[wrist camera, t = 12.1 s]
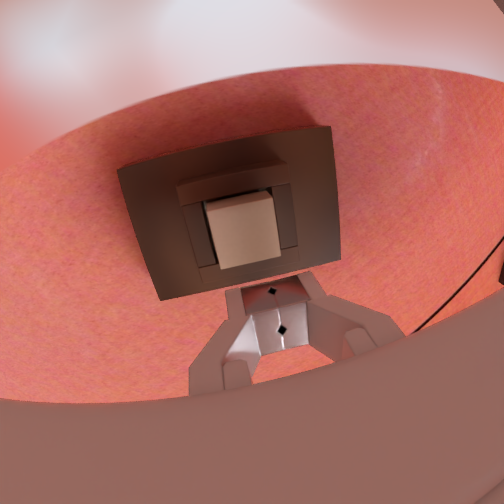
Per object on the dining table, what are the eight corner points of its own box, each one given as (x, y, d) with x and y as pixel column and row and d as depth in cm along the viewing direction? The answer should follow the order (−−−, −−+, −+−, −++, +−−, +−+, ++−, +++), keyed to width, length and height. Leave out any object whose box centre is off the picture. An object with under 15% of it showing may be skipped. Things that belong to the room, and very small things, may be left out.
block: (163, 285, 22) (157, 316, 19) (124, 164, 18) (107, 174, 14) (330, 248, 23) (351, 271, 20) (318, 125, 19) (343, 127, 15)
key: (219, 256, 18) (220, 270, 17) (206, 202, 16) (206, 211, 15) (274, 244, 18) (281, 256, 17) (266, 190, 17) (272, 197, 15)
